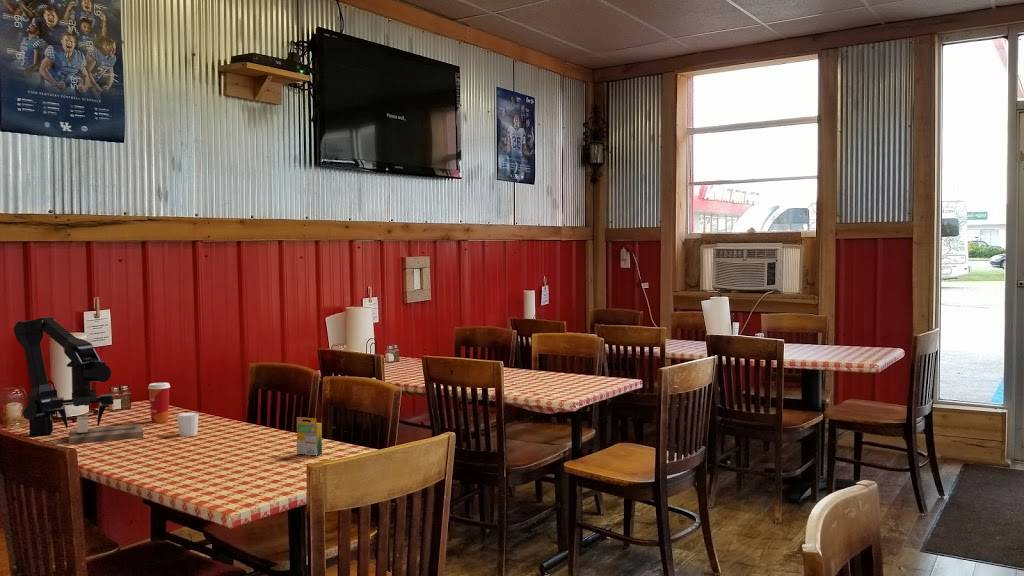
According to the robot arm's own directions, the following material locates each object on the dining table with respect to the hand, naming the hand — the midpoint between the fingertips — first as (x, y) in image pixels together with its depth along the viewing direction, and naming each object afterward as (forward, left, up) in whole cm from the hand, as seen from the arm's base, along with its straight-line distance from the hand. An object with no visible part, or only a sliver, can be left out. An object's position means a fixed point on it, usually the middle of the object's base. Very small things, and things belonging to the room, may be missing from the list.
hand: (82, 426), depth 272 cm
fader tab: (0, 0, -2) cm, 2 cm away
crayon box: (+62, -57, -4) cm, 84 cm away
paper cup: (+25, +19, -4) cm, 32 cm away
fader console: (+7, 0, -4) cm, 8 cm away
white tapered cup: (+32, -9, -4) cm, 34 cm away
